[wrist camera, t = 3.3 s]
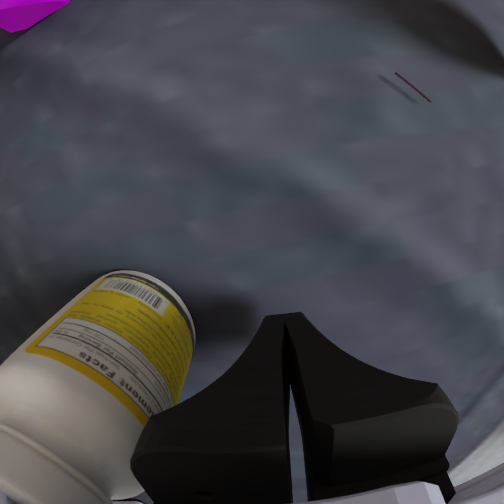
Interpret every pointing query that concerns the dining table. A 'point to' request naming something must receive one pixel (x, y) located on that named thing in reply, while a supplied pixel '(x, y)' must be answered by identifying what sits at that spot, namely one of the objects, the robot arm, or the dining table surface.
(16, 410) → the supplement bottle
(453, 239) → the dining table surface
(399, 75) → the figurine
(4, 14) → the crystal
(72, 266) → the dining table surface
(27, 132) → the dining table surface
